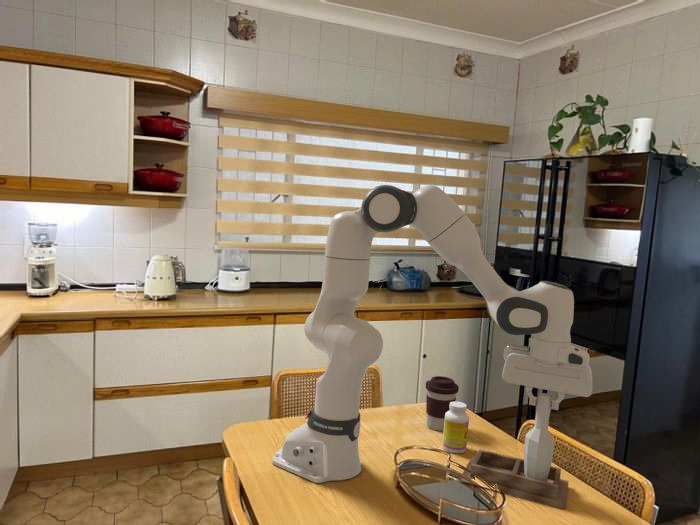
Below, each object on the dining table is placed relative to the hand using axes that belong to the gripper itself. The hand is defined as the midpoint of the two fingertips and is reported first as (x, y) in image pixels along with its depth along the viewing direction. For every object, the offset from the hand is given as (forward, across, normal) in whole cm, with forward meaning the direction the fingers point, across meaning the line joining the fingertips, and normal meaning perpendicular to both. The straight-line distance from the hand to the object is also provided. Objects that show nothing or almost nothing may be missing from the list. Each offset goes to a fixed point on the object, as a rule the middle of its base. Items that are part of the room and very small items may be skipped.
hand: (543, 406), depth 132 cm
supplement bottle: (+21, -23, +12) cm, 33 cm away
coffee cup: (+21, -31, +25) cm, 45 cm away
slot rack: (+21, -5, 0) cm, 21 cm away
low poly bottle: (+19, 0, 0) cm, 19 cm away
